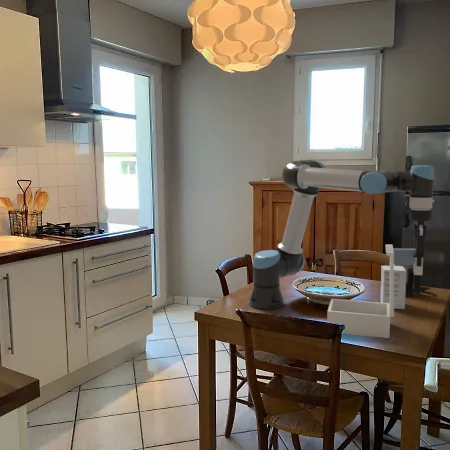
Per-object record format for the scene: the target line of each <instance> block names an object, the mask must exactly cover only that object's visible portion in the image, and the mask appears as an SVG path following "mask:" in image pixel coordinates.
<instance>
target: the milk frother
mask: <svg viewBox="0 0 450 450" xmlns="http://www.w3.org/2000/svg"><path fill="white" fill-rule="evenodd" d="M394 266H403V267H404V269H405V270H406V291H405V297H412V296H414V294H417V293H423V292H426V291H429V290H430V289H431V287H430V286H423V285H422V275H414V272H413V268H414V264H398V263H394Z"/></svg>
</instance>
